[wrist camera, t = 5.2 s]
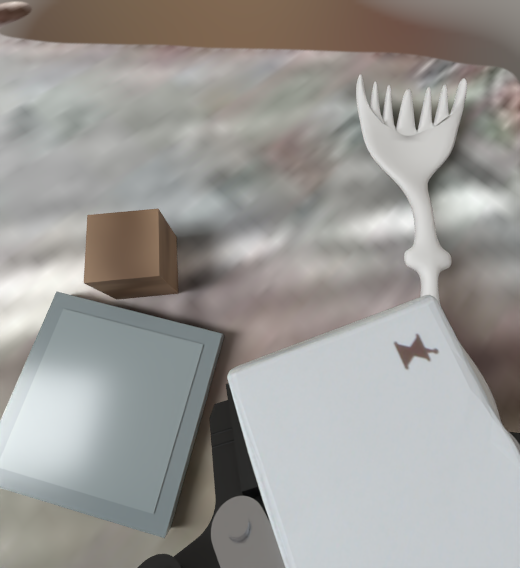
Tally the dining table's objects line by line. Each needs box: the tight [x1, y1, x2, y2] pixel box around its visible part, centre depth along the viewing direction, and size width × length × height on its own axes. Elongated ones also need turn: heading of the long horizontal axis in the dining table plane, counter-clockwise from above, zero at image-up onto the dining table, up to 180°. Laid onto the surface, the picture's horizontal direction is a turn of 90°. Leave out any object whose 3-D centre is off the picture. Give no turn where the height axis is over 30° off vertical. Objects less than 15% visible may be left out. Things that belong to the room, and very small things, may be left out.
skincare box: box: [227, 295, 520, 568], centre depth 11 cm, size 6×4×12 cm
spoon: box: [356, 74, 501, 422], centre depth 22 cm, size 9×32×4 cm, turn 177°
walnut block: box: [84, 209, 178, 299], centre depth 22 cm, size 4×4×4 cm
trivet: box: [0, 292, 224, 538], centre depth 21 cm, size 12×12×1 cm
